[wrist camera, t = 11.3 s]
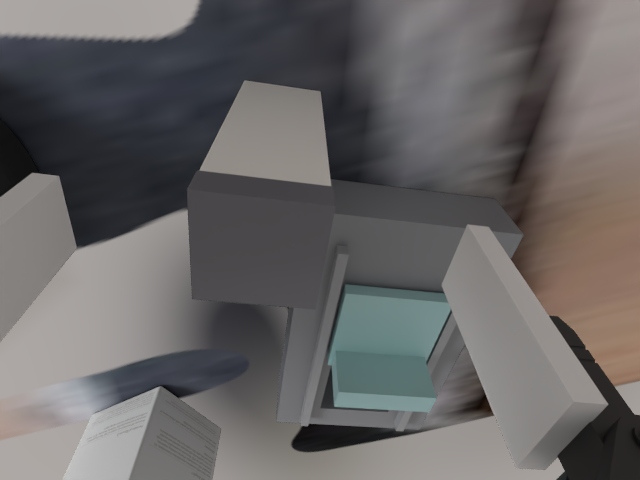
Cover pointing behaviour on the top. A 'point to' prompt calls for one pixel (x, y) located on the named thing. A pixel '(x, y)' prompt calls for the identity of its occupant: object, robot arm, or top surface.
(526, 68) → the top surface
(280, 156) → the grey rectangular block
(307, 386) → the socket housing
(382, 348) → the shutter
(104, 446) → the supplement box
